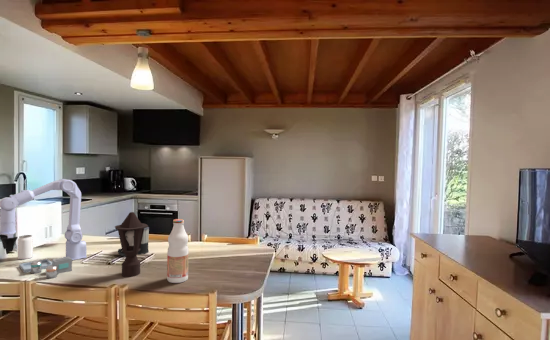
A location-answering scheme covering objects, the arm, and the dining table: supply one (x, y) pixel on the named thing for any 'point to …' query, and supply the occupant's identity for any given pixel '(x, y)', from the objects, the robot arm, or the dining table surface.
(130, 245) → the lantern
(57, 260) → the wall unit
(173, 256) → the fruit juice
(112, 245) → the dining table surface
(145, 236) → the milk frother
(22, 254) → the can
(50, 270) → the terracotta cartridge
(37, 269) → the teal cartridge
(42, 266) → the tray
